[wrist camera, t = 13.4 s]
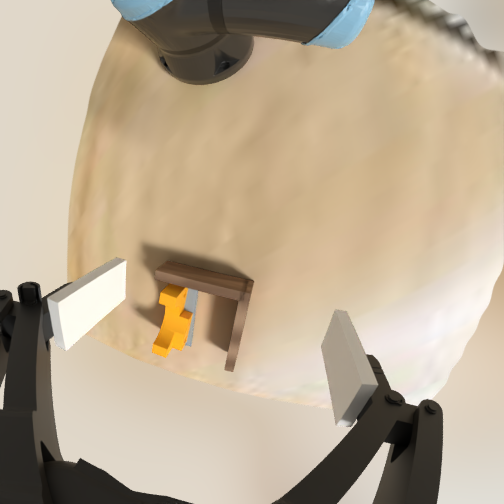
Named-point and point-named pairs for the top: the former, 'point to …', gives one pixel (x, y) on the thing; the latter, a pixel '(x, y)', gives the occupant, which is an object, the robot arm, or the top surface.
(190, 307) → the pad
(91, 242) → the top surface
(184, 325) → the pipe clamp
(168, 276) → the brown wooden corner wall
